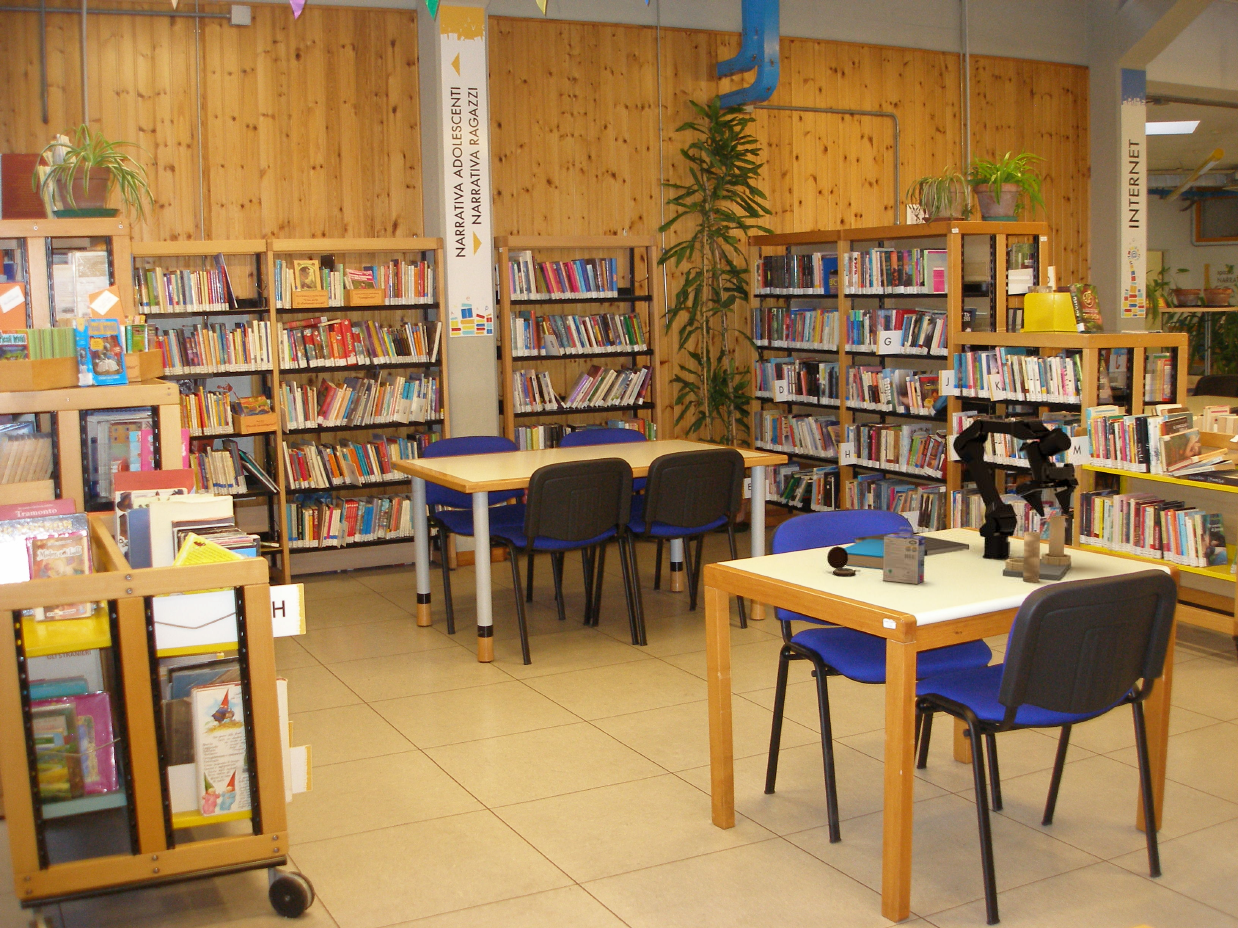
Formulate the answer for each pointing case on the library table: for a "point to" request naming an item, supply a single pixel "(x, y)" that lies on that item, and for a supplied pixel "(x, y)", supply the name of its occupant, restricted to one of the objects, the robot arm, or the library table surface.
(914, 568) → the ink cartridge box
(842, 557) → the compass
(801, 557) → the library table surface
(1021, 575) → the board
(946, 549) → the notebook
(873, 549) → the book
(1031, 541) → the pin
